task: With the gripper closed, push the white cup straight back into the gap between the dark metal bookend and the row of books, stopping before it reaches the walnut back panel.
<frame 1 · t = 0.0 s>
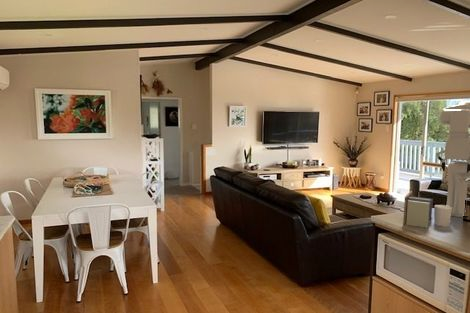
hand: (455, 171, 165), 31 cm above the counter, tool pointing down, fingers open, 9 cm apart
bookend: (421, 218, 195), on the counter
white cup: (441, 225, 184), on the counter
book row: (417, 225, 184), on the counter
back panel: (407, 220, 192), on the counter
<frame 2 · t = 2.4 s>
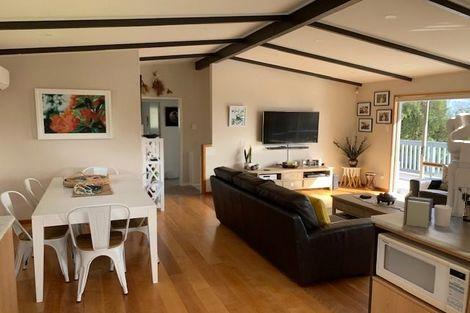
hand: (465, 201, 177), 14 cm above the counter, tool pointing down, fingers closed
nothing on the counter moved.
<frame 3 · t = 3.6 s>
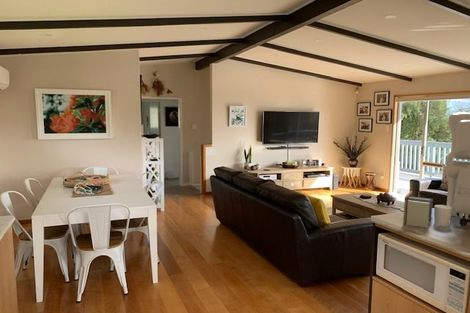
hand: (463, 225, 179), 1 cm above the counter, tool pointing down, fingers closed
nothing on the counter moved.
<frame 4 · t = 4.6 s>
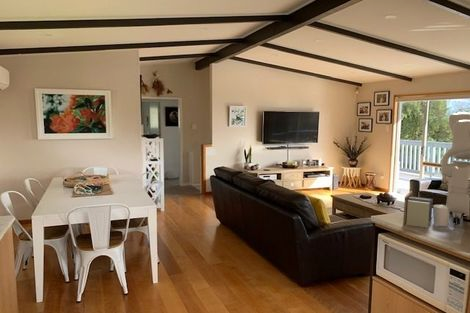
hand: (456, 224, 180), 1 cm above the counter, tool pointing down, fingers closed
white cup: (441, 225, 184), on the counter, touching gripper
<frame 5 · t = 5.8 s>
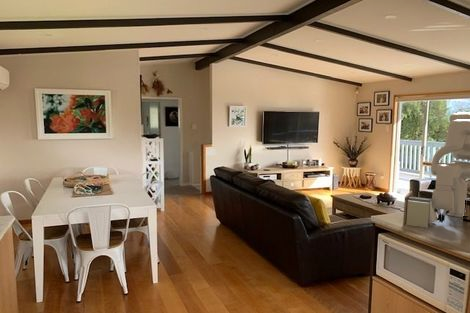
hand: (441, 221, 183), 2 cm above the counter, tool pointing down, fingers closed
white cup: (431, 221, 187), point 1 cm above the counter, touching gripper
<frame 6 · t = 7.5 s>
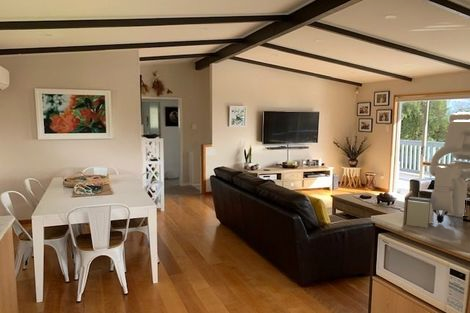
hand: (439, 222, 185), 1 cm above the counter, tool pointing down, fingers closed
white cup: (426, 222, 188), on the counter
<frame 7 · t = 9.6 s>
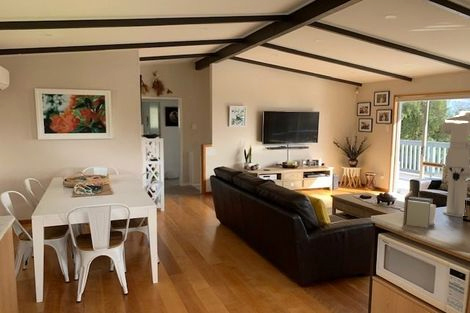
hand: (455, 180, 182), 24 cm above the counter, tool pointing down, fingers closed
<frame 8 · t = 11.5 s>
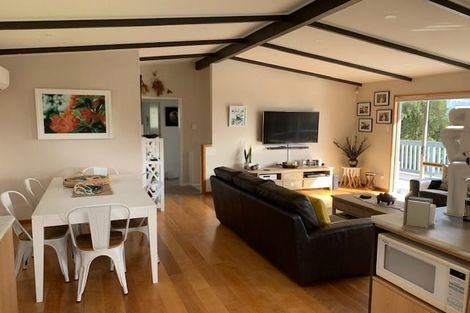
hand: (469, 165, 183), 32 cm above the counter, tool pointing down, fingers closed
nothing on the counter moved.
at the end: white cup 1.6 cm from the target spot, on the counter; white cup tilted 0° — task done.
